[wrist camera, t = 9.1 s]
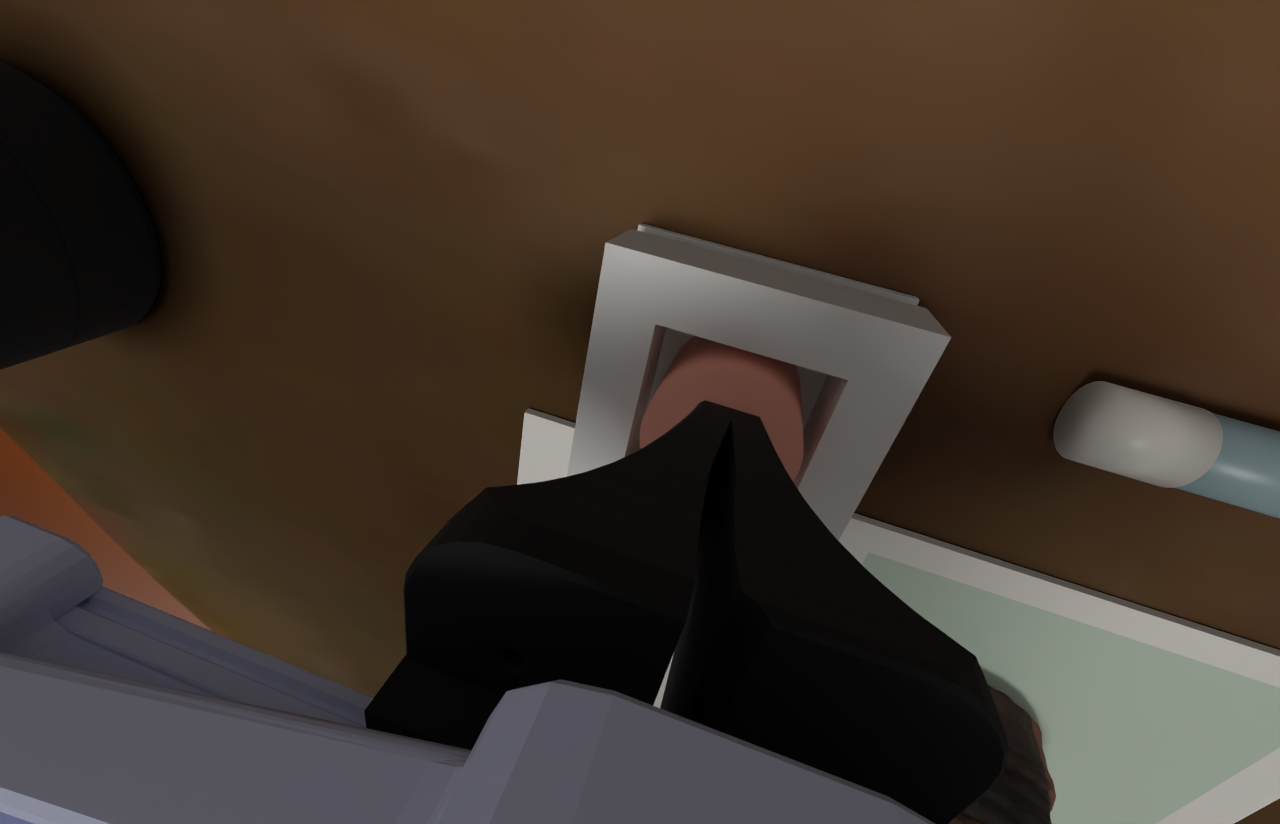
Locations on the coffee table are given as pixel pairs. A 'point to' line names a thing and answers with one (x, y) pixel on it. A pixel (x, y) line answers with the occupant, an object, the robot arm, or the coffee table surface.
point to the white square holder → (763, 324)
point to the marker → (1171, 445)
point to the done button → (731, 394)
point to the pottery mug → (1015, 775)
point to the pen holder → (65, 228)
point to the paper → (1074, 672)
